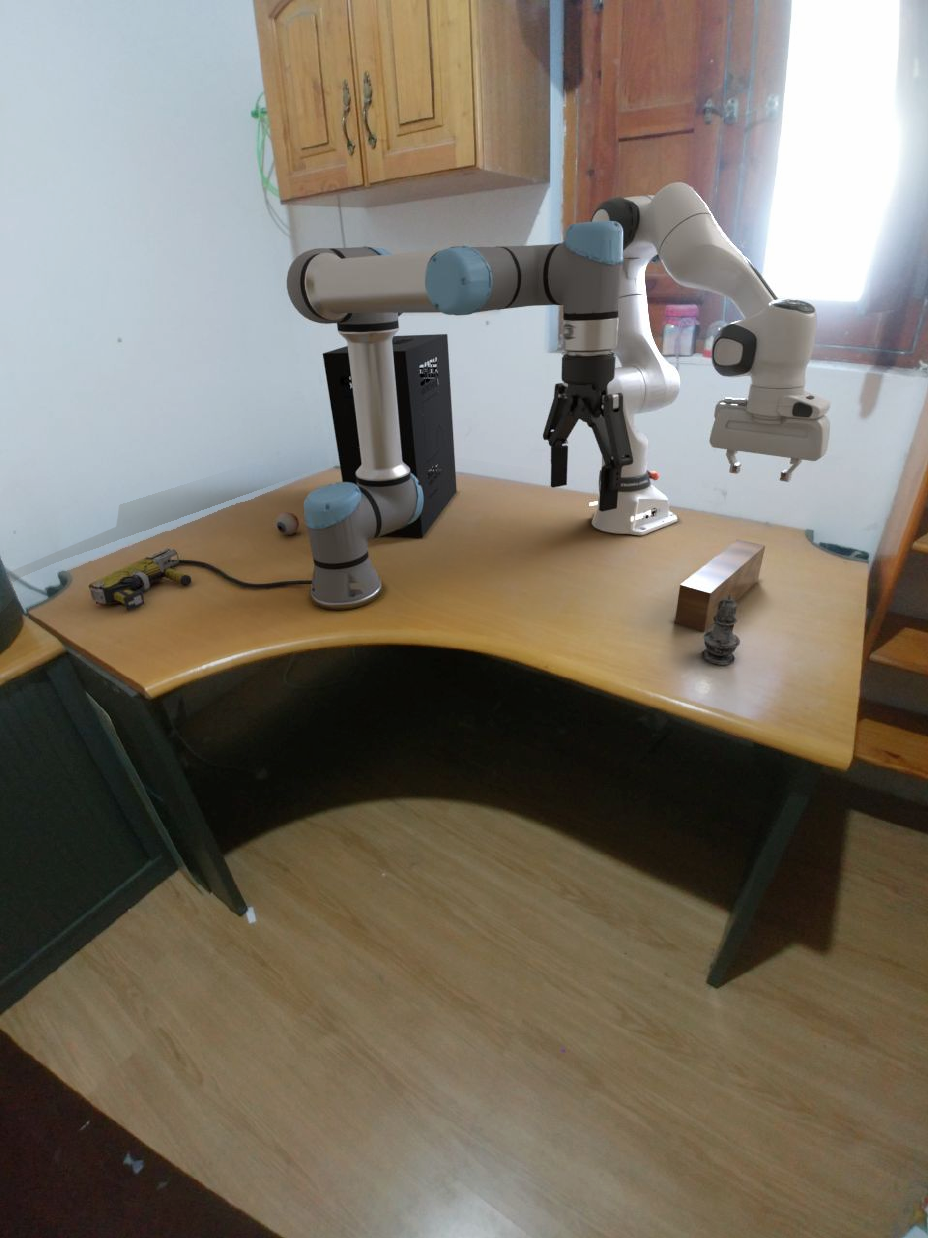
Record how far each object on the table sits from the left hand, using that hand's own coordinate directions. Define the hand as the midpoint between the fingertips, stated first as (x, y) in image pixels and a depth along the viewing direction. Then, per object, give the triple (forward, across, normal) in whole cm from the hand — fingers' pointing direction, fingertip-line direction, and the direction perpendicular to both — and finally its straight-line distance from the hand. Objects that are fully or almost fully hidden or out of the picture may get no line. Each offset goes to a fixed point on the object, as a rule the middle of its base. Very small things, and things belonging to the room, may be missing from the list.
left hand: (581, 497), depth 96 cm
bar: (+28, 0, +34) cm, 44 cm away
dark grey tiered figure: (+28, +15, +19) cm, 37 cm away
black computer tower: (+28, -84, -2) cm, 88 cm away
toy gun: (+28, -68, -70) cm, 101 cm away
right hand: (+5, -4, +43) cm, 44 cm away
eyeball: (+28, -85, -36) cm, 96 cm away
